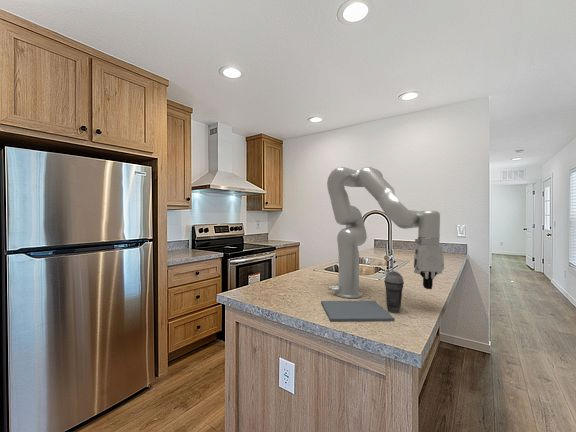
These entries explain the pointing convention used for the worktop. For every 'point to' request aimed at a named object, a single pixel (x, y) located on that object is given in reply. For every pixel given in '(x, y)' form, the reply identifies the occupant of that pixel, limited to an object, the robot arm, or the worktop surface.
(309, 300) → the worktop surface
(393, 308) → the beverage cup
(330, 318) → the rubber mat
